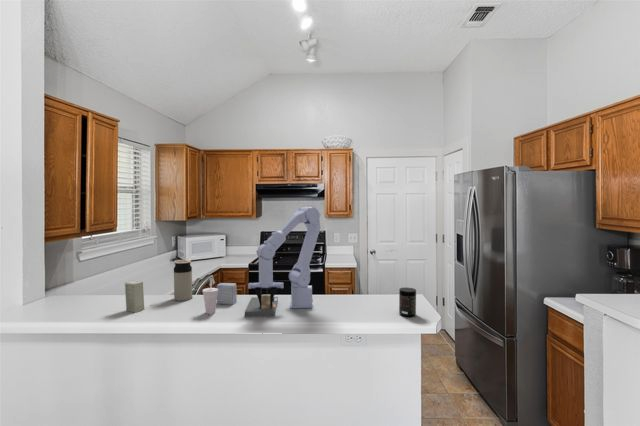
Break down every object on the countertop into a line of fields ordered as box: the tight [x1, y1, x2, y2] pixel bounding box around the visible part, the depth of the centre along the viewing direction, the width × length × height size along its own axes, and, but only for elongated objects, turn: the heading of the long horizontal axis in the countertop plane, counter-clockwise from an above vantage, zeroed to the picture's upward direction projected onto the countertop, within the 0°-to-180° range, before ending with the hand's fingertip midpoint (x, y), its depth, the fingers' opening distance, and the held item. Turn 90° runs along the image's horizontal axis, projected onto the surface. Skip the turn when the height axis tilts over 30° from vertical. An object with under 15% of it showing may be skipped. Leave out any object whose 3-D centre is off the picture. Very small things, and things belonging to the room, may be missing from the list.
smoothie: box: [202, 278, 218, 315], centre depth 144 cm, size 6×6×14 cm
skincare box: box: [124, 280, 145, 313], centre depth 147 cm, size 6×4×12 cm
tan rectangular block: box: [261, 293, 271, 309], centre depth 146 cm, size 4×4×6 cm
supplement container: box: [398, 287, 417, 318], centre depth 141 cm, size 7×7×10 cm
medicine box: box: [216, 282, 238, 305], centre depth 158 cm, size 8×4×9 cm, turn 84°
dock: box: [244, 296, 279, 317], centre depth 150 cm, size 12×20×2 cm, turn 3°
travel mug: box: [173, 259, 193, 302], centre depth 164 cm, size 8×8×18 cm
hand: (266, 305), depth 146 cm, fingers open, 4 cm apart
